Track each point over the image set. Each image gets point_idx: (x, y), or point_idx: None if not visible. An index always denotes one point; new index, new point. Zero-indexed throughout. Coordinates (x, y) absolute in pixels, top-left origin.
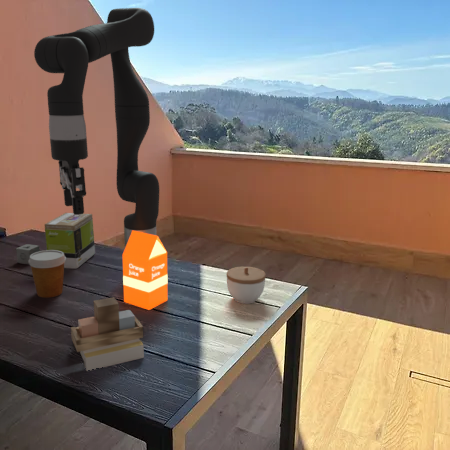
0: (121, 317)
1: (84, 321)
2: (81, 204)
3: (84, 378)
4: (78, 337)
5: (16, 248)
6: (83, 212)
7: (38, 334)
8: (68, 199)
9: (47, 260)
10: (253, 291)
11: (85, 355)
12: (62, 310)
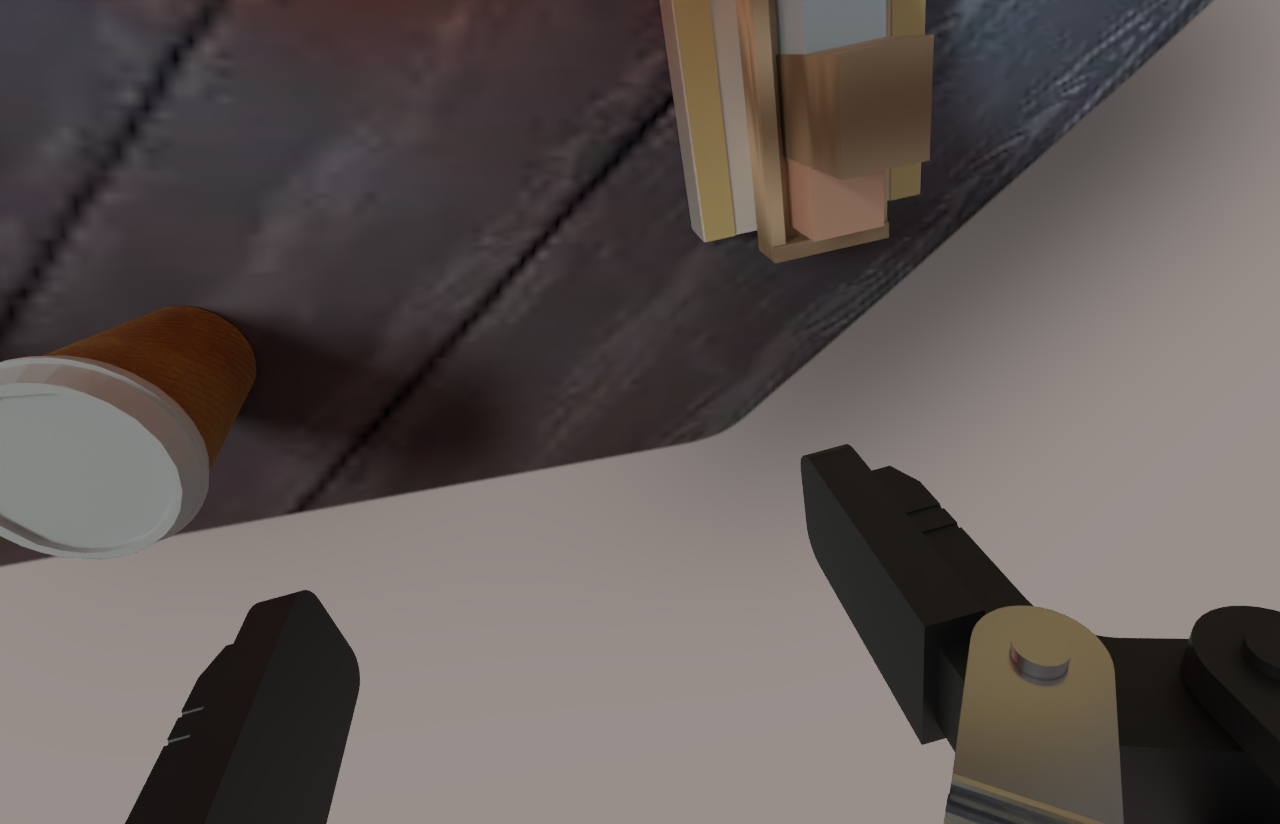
0: (873, 20)
1: (844, 213)
2: (968, 547)
3: (929, 191)
4: (871, 230)
5: None
6: (847, 451)
7: (580, 363)
8: (319, 723)
9: (175, 462)
10: None
11: (905, 195)
12: (366, 293)
